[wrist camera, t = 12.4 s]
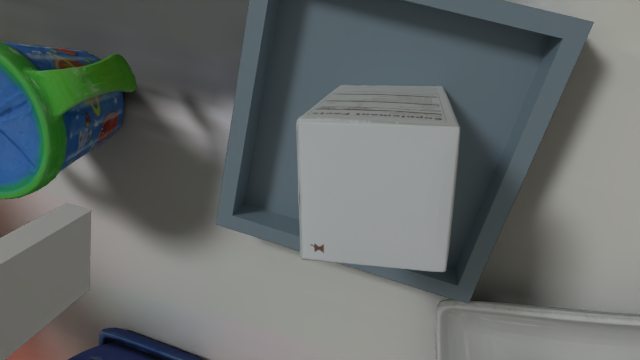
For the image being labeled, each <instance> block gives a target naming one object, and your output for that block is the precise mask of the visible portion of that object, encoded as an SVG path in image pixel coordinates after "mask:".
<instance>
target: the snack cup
mask: <svg viewBox="0 0 640 360" xmlns="http://www.w3.org/2000/svg"><path fill="white" fill-rule="evenodd" d="M136 88H137V85H136V80H135V76H134V74H133V73H132V71H131V68H130V66H129V65H128V63H127V62H126V60H125V59H124V58H123V57H122V56H121V55H119V54H112V55H110V56H109V57H107V58H105V59H103V60H99V59H98V58H97V57H95V56H92V55H90V54H88V53H87V52H85V51H80V50H74V49H69V48H56V47H44V46H38V45H29V44H17V43H6V42H0V199H13V198H20V197H23V196H25V195H28V194H31V193H33V192H35V191H38V190H39V189H41V188H42V187H44V186H46V185H47V184H48V183H49V182H50V181H51V180H53V179H54V178H55V177H56V176H57V174H58V173H59V171H61V170H62V169H64V168H65V167H67V166H68V165H70V164H71V163H73V162H74V161H76V160H77V159H79V158H80V157H82V156H83V155H85V154H86V153H88V152H89V151H90V150H92V149H94V148H95V147H96V146H97V145H99V144H101V143H102V142H103V141H105V140H106V139H108V138H110V137H111V136H112V135H113V134H114V133H115V131H116V130H118V129H119V127H120V125H121V124H122V122H123V121H122V119H123V112H124V100H123V94H122V91H123V92H133V91H135V90H136Z"/></svg>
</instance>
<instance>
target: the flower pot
mask: <svg viewBox="0 0 640 360" xmlns="http://www.w3.org/2000/svg"><path fill="white" fill-rule="evenodd" d="M68 360H202V359H200V358H199V357H196V356H194V355H191V354H188V353H186V352H183V351H180V350H178V349H175V348H173V347H170V346H168V345H165V344H162V343H160V342H157V341H154V340H152V339H149V338H146V337H144V336H141V335H138V334H135V333H133V332H130V331H127V330H124V329H119V328H106V329H103V330H102V331H101V332H100V335H99V346H97V347H94V348H92V349H89V350H86V351H84V352H82V353H80V354H78V355H76V356H74V357H72V358H70V359H68Z"/></svg>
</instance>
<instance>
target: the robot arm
mask: <svg viewBox="0 0 640 360" xmlns="http://www.w3.org/2000/svg"><path fill="white" fill-rule="evenodd" d="M90 244H91V210H88V209H85V208H82V207H79V206H76V205H73V204H70V203H65V204H63V205H61V206H60V207H58V208H56V209H54V210H52V211H50V212H48V213H46V214H44V215H42V216H41V217H39V218H37V219H35V220H33V221H31V222H29V223H27V224H25V225H24V226H22V227H20V228H18V229H16V230H14V231H12V232H10V233H8V234H7V235H5V236H3V237H1V238H0V360H5V359H6V358H8V357H9V356H10V355H11V354H12V353H14V352H15V351H16V350H17V349H18V348H20V347H21V346H22V345H23V344H24V343H26V342H27V341H28V340H29V339H30V338H32V337H33V336H34V335H35V334H36V333H38V332H39V331H40V330H41V329H42V328H44V327H45V326H46V325H47V324H48V323H50V322H51V321H52V320H53V319H55V318H56V317H57V316H58V315H59V314H61V313H62V312H63V311H64V310H65V309H67V308H68V307H69V306H70V305H71V304H73V303H74V302H75V301H76V300H77V299H79V298H80V297H81V296H82V295H83V294H85V293H86V292H87V291H88V290H89V287H90Z"/></svg>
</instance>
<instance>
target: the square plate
mask: <svg viewBox="0 0 640 360" xmlns="http://www.w3.org/2000/svg"><path fill="white" fill-rule="evenodd" d="M435 337H436V360H640V315H639V314H625V313H612V312H599V311H587V310H576V309H565V308H553V307H543V306H534V305H524V304H512V303H501V302H484V301H469V304H467V303H463V302H460V301H457V300H451V299H448V300H443V301H440V302H439V304H438V306H437V311H436V330H435Z"/></svg>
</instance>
